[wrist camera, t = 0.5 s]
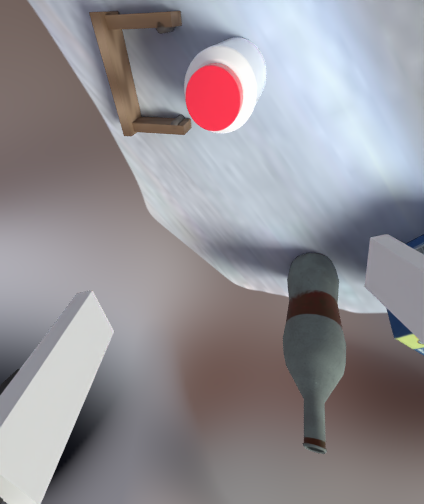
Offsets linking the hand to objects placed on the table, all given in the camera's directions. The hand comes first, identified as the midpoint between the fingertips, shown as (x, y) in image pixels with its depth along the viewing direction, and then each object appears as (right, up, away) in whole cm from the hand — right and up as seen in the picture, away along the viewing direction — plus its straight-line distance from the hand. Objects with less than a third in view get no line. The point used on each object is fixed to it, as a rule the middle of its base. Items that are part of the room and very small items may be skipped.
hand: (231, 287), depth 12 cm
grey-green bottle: (+19, -1, +38) cm, 42 cm away
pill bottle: (+2, +24, +19) cm, 31 cm away
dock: (-8, +25, +21) cm, 34 cm away
